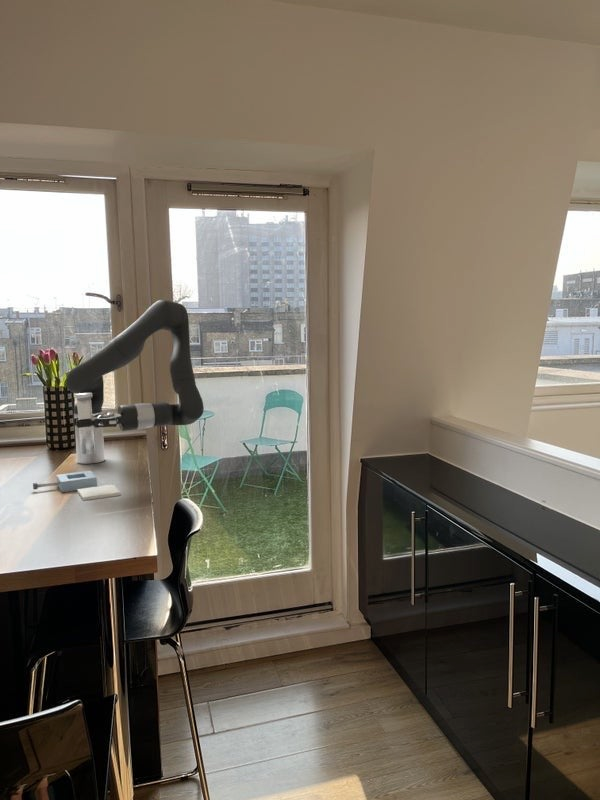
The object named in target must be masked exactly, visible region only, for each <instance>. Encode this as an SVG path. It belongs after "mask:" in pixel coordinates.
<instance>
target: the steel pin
mask: <svg viewBox="0 0 600 800" xmlns="http://www.w3.org/2000/svg"><path fill="white" fill-rule="evenodd" d="M91 397H92V393H80V394H76V393H74V399H76V404H77V409H78V420H80V419H89V418H90V420H91V418H92V406H91ZM79 434H80V446H81V454H93V453H95V444H94V431H93V427H81V428H79Z"/></svg>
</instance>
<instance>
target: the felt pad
mask: <svg viewBox="0 0 600 800" xmlns="http://www.w3.org/2000/svg"><path fill="white" fill-rule="evenodd" d="M76 492H77V494H78V495H79V497H80V498H81V499H82V501H88V500H89V501H90V500H95V499H101V498H102V499H104V498H108V497H116V496H121V495H122V493H121V491H120V490H119V489H118V488H117V487H116V486H115V484H106V485H97V487H90V488H82V489H77V490H76Z"/></svg>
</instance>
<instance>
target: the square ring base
mask: <svg viewBox="0 0 600 800" xmlns="http://www.w3.org/2000/svg"><path fill="white" fill-rule="evenodd" d="M55 477H56V481H51V482H45V483H43V482H42V483H37V482H33V483H32V489H33V490H38V488H43V487H51V486H57V487H58V489H59V490H60V492H61V493H64V492H65V493H67V492H73V491H77V489H82V488H90V487H97V486H98V480H97V479H98V478H97V476H96V474H94V473H93V472H92V471H91V470H87V471H86V470H85V471H76V472H70V473H61V474H60V473H59V474H56V476H55Z"/></svg>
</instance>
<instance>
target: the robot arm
mask: <svg viewBox="0 0 600 800" xmlns="http://www.w3.org/2000/svg"><path fill="white" fill-rule="evenodd" d="M188 314H189V313H188V310H187V309H186V307H185V305H183V304H182V303H178V302H176V301H171V300H167V299H159V300H156V302H154V303H153V304H152V305H150V306H149V308H147V309H146V311H144V313H142V314H141V316H140V317H139V318H137V319H136V321H134V322H133V323H131V324H130V325H129V326H128V327H127V328H126V329H125V330H123V331H122V332H120V333H119V334H117V335H116V336H115V337H114V338H113V339H111V340H110V341H109V342H108V343H107V344H105V346H102V348H100V349H99V350H98V351H96V352H95V353H94V354H93V355H92V356H90V357H89V358H88V359H87V360H85V361H83V362H81V363H80V364H78V365H76V366H75V367H73V368H72V369H70V371H68V373H67V375H66V379H65V385H66V386H65V387H66V388H67V390H68V391H70V392H71V393H73V394H80V393H92V397H91V406H92V418H91V420H90V418H89V419H80V420H78V409H77V403H75V404H74V405H73V426H74V433H75V435H74V436H75V450H76V451H75V452H76V463H77V464H84V465H87V464H96V463H101V462H105V442H104V428H115V427H117V425H118V427H119V429H120V431H122V432H126V431H135V430H144V429H148V428H154V427H162V426H167V425H169V426H188V425H191V424H193V423H195V422H197V421H198V420H199V419H200V418H201V417H202V416H203V414H204V411H205V409H204V402H203V398H202V396H201V393H200V391H199V389H198V387H197V385H196V384H197V383H196V378H195V373H194V369H193V365H192V364H193V363H192V358H191V357H192V356H191V343H190V341H191V340H190V339H191V338H190V323H189V322H190V321H189V315H188ZM161 330H164V331H168V332H170V334H171V338H172V343H173V349H172V354H171V358H170V362H169V374H170V380H171V385H172V388H173V391H174V392H175V394H176V395H178V398H179V401H180V402H179V403H174V404H169V403H168V402H153V403H152V402H151V403H147V402H146V403H142V402H140V403H133V404H132V403H130V404H121V405H119V406H118V407H117V413H114V412H113V411H104V412H103V405H104V397H105V396H104V393H105V392H104V390H105V387H104V385H105V384H104V378H103V376H104V375H107V374H110V373H112V372H114V371H116V370H119V369H121V368H123V367H125V366H126V365H128V364H130V363H131V362H133V360H135V359H136V358H138V357H139V356H140V355H141V353H142V352H143V350H144V346H145V345H146V344H145V343H146V341H147V340H148V338H150V337H151V336H153V334H155V333H156V332H158V331H161ZM81 427H93V431H94V444H95V453H93V454H81V446H80V434H79V428H81Z"/></svg>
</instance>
